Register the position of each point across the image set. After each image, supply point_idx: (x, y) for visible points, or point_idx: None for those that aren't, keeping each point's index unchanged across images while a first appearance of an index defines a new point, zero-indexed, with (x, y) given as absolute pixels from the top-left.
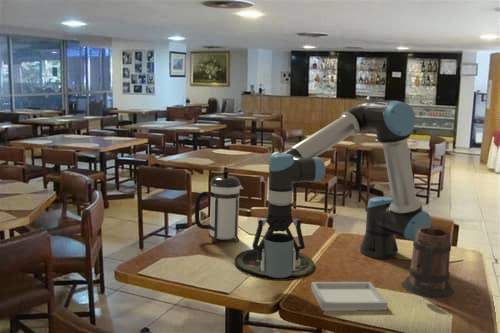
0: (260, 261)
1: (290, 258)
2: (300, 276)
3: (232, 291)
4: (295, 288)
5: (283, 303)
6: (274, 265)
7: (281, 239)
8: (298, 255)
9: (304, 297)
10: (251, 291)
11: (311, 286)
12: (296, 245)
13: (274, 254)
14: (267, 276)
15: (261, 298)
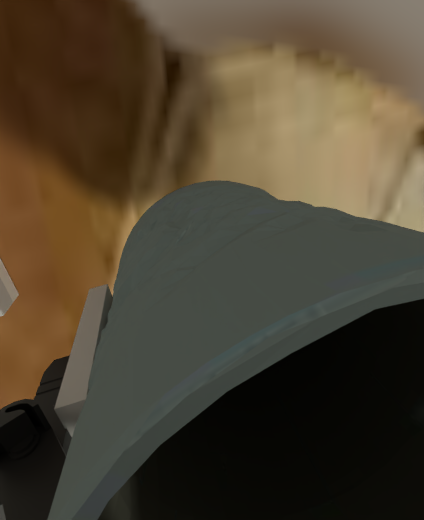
0: None
1: (116, 292)
2: None
3: (401, 167)
4: (104, 280)
5: (142, 64)
6: (268, 195)
7: None
8: (37, 395)
9: (33, 179)
10: (316, 189)
11: (10, 298)
12: (22, 501)
13: (335, 210)
14: None
15: (267, 112)
